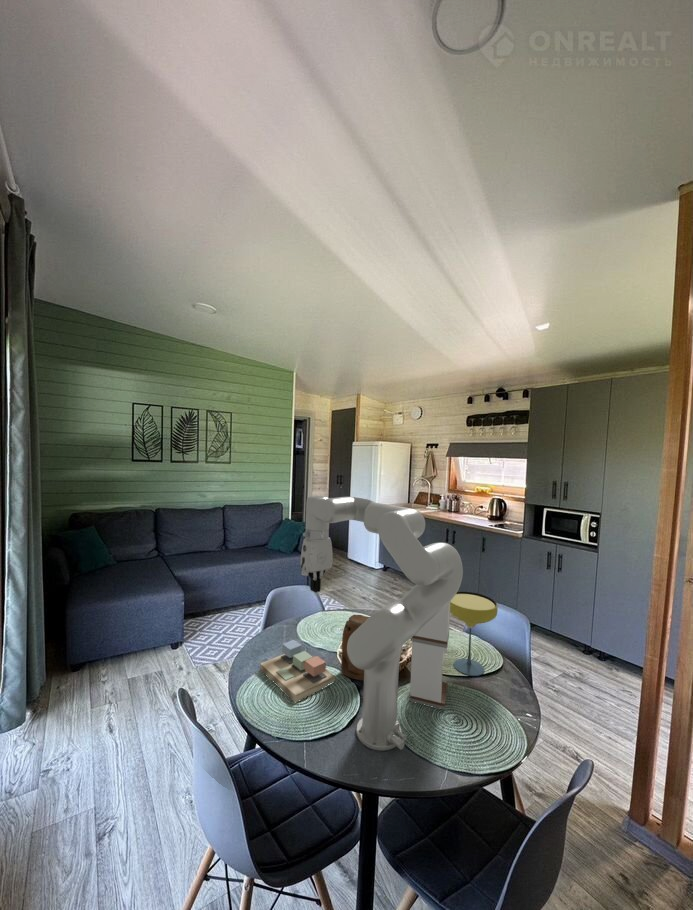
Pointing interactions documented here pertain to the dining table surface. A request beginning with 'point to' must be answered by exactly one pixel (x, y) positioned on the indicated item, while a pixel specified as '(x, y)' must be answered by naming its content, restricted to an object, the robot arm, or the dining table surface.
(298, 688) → the wooden sorting board
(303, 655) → the sage button
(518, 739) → the dining table surface
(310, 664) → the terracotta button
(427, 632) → the white square pillar
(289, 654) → the grey square block
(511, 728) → the dining table surface
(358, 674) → the dark brown curved piece
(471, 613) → the cocktail glass
